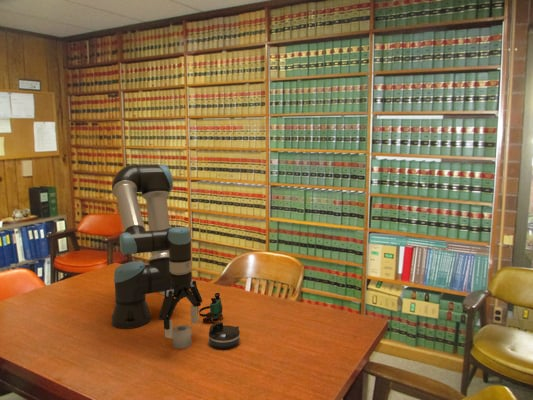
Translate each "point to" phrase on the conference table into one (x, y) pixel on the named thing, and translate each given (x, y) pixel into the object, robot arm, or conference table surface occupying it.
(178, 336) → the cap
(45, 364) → the conference table surface
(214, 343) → the black round base
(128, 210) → the robot arm
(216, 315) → the binoculars
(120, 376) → the conference table surface
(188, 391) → the conference table surface
